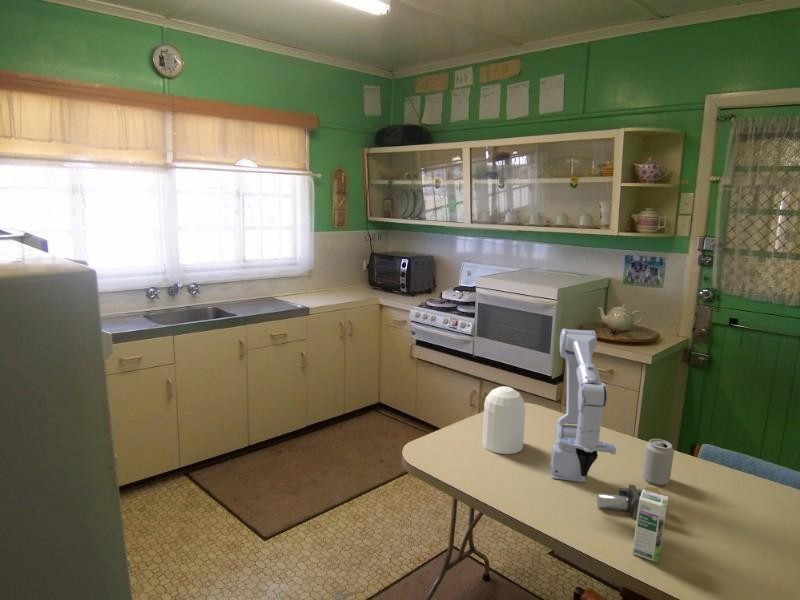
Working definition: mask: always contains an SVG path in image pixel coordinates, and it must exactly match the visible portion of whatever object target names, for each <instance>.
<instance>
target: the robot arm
mask: <svg viewBox="0 0 800 600" xmlns="http://www.w3.org/2000/svg"><path fill="white" fill-rule="evenodd" d="M559 335H560V336H559V353H560V355H559V356H560V357H562V358H563V359H565V363H566V398H565V399H566V401H565V402H566V405H565V406H566V409H565V414H563V415H562V416H560V417H559V418H557V421H556V427H555V443H556V444H552V447H551V455H550V456H551V457H550V461H549V462H550V463H549V468H550V474H551V478H552V479H558V480H564V481H572V482H573V481H574V482H581V483H585V482H586V477H588V473H589V471H590V470H591V469H590V468H591V467H592V465H593V464H594V463H595V462H596V460H597V459H598V456H599V454H598V452H599V453H600V452H601V453H609V454H611V455H616V453H617V446H616V444H614V443H608V442H604V441H600V436H601V435H600V434H601V424H602V417H603V408H605V407H606V405H607V402H608V390H607V385H606V384H605V383H604V382H603V381H601V377H600V372H599V369H598V366H596V364H595V363H593V354H594V352H595V350H596V347H597V343H598V342H597V341H598V337H597V333H596V331H595V330H594V329H593V330H586V329H585V330H584V329H568V328H562V329H561V331H560V334H559ZM569 424H570V425H569Z"/></svg>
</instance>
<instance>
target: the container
mask: <svg viewBox="0 0 800 600" xmlns="http://www.w3.org/2000/svg"><path fill="white" fill-rule="evenodd" d="M525 405H526V404H525V400H524V399H523V397H522V395H521V393H520V392H519V391H517V390H515V389H514V388H512V387H510V386H507V385H506V386H499V387H496V388H493V389H492V390H490V392H489V393H488V395H486V397H485V400H484V405H483V407H484V408H483V425H482V446H483V448H484V449H486V450H487V451H490V452H493V453H496V454H502V455H511V454H517V453H519V452H521V451H522V450H523V448H524V436H525V425H526V423H525V422H526V421H525V420H526V407H525Z"/></svg>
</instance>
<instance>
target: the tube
mask: <svg viewBox="0 0 800 600" xmlns="http://www.w3.org/2000/svg"><path fill="white" fill-rule="evenodd" d="M633 501H634V500H633V498H632V497H627V496H625V497H624V496H618V495H615V494H607V493H601V492H598V493H597V494H596V505H597V508H601V509H609V510H615V511H624V512H627V513H629V512H631V513H632V509H633Z"/></svg>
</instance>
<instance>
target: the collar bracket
mask: <svg viewBox="0 0 800 600" xmlns="http://www.w3.org/2000/svg"><path fill="white" fill-rule="evenodd" d="M642 490H643V489H642ZM642 490H641V489H637V486H636V485H635V484H629V485H628V488H625V487H618V494H617V496H624V497H625V496H627V497H632V498H633V500H634V501H633V509H632V512H631V519H632V520H637V513H638V505H639V499H640V496H641V493H642ZM644 490H646V491H650V492H653V493H656V494H660V495H661V492H660V491H659V488H658V487H654V486H653V487H652V486H645V489H644Z"/></svg>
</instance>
